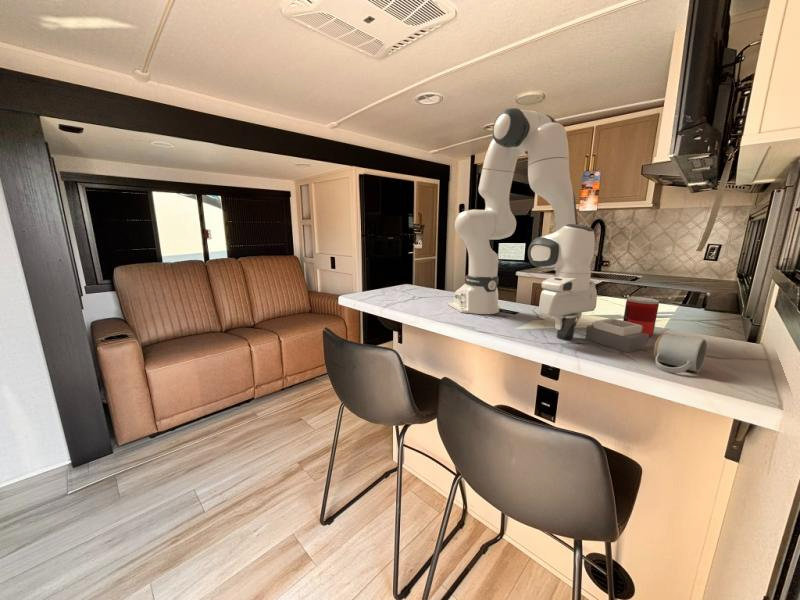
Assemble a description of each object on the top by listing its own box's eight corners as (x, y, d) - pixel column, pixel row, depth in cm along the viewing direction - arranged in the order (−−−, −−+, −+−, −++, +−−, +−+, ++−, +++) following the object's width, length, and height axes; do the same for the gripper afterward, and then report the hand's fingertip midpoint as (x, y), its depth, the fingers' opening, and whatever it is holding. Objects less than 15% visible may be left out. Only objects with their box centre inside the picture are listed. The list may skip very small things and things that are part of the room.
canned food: (659, 337, 94) (666, 302, 92) (633, 337, 94) (639, 301, 92) (640, 329, 102) (646, 296, 99) (615, 329, 102) (621, 296, 99)
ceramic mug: (660, 356, 80) (665, 327, 78) (703, 367, 73) (710, 336, 71) (644, 367, 74) (650, 336, 72) (690, 380, 67) (697, 346, 65)
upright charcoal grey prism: (552, 336, 94) (555, 311, 93) (563, 334, 96) (566, 309, 94) (566, 341, 90) (569, 314, 88) (577, 339, 92) (580, 313, 90)
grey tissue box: (585, 338, 93) (588, 319, 91) (602, 335, 96) (605, 316, 94) (628, 352, 82) (632, 330, 81) (646, 348, 85) (650, 327, 84)
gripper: (585, 278, 97) (579, 321, 100) (537, 282, 88) (532, 328, 91) (605, 281, 91) (599, 326, 94) (556, 286, 83) (550, 335, 86)
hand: (565, 327), depth 93 cm, fingers closed on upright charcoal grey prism, 4 cm apart
